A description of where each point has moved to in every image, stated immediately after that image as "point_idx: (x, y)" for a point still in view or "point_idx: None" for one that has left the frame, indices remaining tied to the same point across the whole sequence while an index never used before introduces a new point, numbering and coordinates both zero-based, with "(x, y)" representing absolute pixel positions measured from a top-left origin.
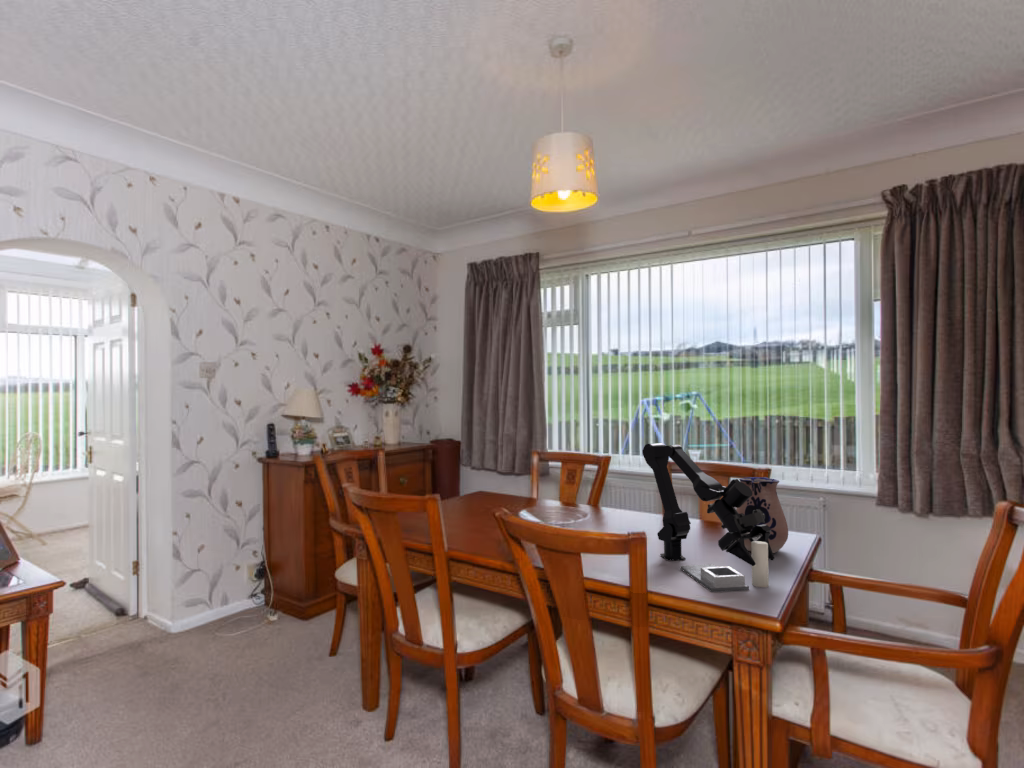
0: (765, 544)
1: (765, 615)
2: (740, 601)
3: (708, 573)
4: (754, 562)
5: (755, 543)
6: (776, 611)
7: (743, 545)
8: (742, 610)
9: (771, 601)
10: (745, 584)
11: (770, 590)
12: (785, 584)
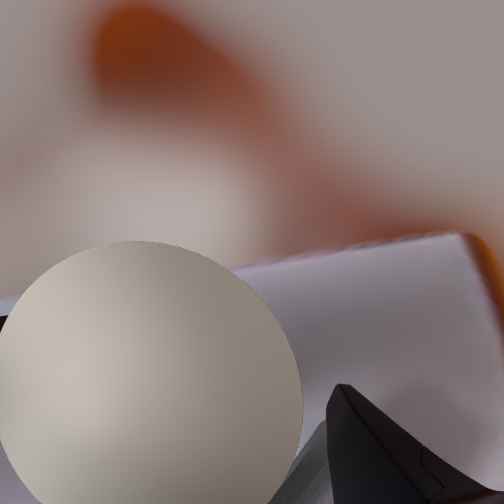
0: (162, 265)
1: (474, 256)
2: (458, 366)
3: None
4: (347, 390)
5: (229, 449)
6: (432, 243)
7: (470, 502)
8: (497, 317)
9: (374, 286)
10: (309, 450)
11: None
12: None
